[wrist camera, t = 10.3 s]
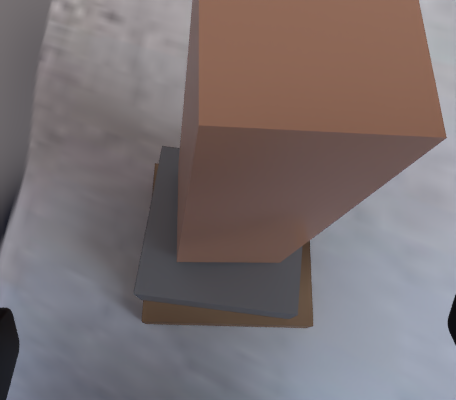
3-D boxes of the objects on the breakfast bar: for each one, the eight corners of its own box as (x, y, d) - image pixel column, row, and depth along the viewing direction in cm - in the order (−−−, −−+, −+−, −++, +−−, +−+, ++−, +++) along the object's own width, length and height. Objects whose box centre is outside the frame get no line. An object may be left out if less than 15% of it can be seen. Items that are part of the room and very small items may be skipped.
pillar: (279, 262, 19) (446, 137, 8) (176, 262, 19) (198, 125, 7) (274, 168, 21) (408, -52, 9) (178, 164, 20) (198, -75, 9)
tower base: (303, 328, 23) (313, 325, 20) (147, 324, 22) (141, 321, 20) (298, 184, 25) (306, 169, 23) (159, 179, 25) (154, 163, 23)
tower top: (288, 319, 20) (297, 315, 18) (141, 299, 21) (133, 293, 18) (299, 182, 23) (308, 164, 21) (166, 164, 23) (162, 145, 21)
